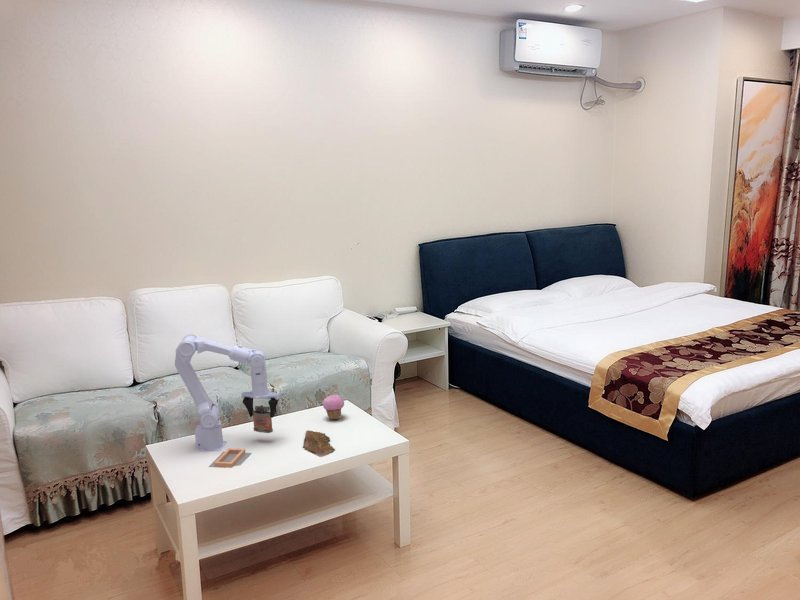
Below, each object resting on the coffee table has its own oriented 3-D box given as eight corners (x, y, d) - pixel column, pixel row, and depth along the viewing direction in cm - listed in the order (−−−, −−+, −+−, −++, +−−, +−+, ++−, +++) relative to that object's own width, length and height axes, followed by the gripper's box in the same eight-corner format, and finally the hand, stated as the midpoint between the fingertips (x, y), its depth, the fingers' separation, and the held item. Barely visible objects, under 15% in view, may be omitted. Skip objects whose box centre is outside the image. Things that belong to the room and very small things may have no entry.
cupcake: (345, 413, 261) (344, 391, 259) (344, 421, 252) (342, 399, 250) (324, 414, 261) (323, 392, 259) (322, 422, 252) (321, 399, 250)
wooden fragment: (337, 454, 222) (336, 452, 221) (307, 462, 219) (307, 459, 218) (324, 427, 246) (323, 425, 245) (297, 434, 243) (296, 431, 242)
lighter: (251, 431, 235) (249, 406, 233) (256, 427, 238) (255, 403, 236) (269, 433, 232) (267, 408, 230) (274, 430, 235) (272, 405, 233)
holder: (208, 468, 216) (208, 462, 215) (223, 452, 227) (223, 447, 227) (237, 469, 214) (237, 464, 213) (251, 454, 225) (251, 449, 225)
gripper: (236, 385, 228) (239, 419, 231) (273, 386, 226) (276, 421, 229) (244, 379, 235) (247, 412, 238) (280, 380, 233) (283, 413, 235)
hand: (262, 416), depth 234 cm, fingers closed on lighter, 7 cm apart
